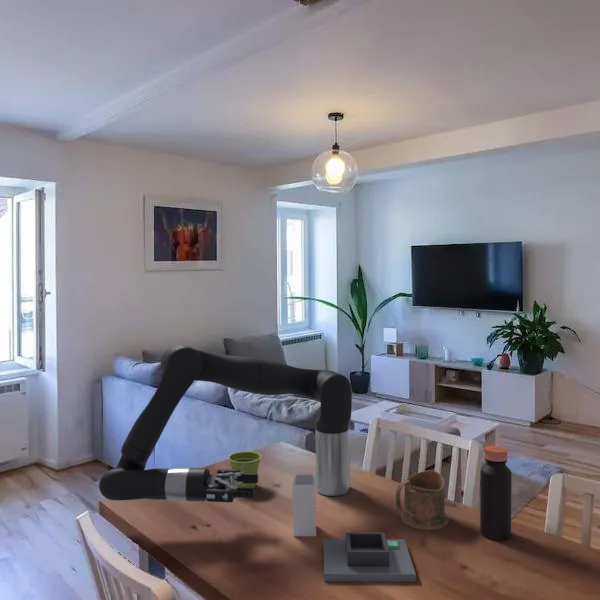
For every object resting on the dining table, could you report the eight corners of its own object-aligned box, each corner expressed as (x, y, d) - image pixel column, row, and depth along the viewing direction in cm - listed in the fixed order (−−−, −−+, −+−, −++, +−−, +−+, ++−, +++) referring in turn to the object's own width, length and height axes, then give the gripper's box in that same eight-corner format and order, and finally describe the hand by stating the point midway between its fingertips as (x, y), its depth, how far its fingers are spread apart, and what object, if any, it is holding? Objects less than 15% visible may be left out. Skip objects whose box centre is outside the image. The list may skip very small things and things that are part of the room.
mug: (377, 528, 131) (376, 479, 130) (416, 504, 144) (416, 459, 143) (420, 544, 123) (419, 491, 122) (457, 517, 136) (457, 470, 135)
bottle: (483, 524, 132) (484, 442, 131) (513, 531, 128) (514, 446, 127) (477, 536, 126) (477, 450, 125) (508, 543, 123) (508, 455, 121)
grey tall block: (294, 525, 133) (293, 473, 132) (316, 525, 133) (315, 473, 132) (293, 536, 128) (292, 482, 127) (316, 536, 127) (315, 482, 127)
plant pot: (244, 477, 164) (243, 449, 164) (268, 484, 159) (268, 455, 158) (222, 488, 157) (221, 458, 156) (247, 495, 151) (246, 464, 151)
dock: (324, 581, 109) (324, 559, 109) (323, 545, 123) (323, 526, 123) (415, 581, 108) (415, 559, 108) (404, 546, 122) (404, 526, 122)
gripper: (180, 479, 123) (252, 480, 122) (194, 458, 137) (259, 459, 137) (180, 512, 123) (252, 514, 123) (194, 488, 138) (259, 489, 137)
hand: (256, 485), depth 130 cm, fingers open, 8 cm apart
